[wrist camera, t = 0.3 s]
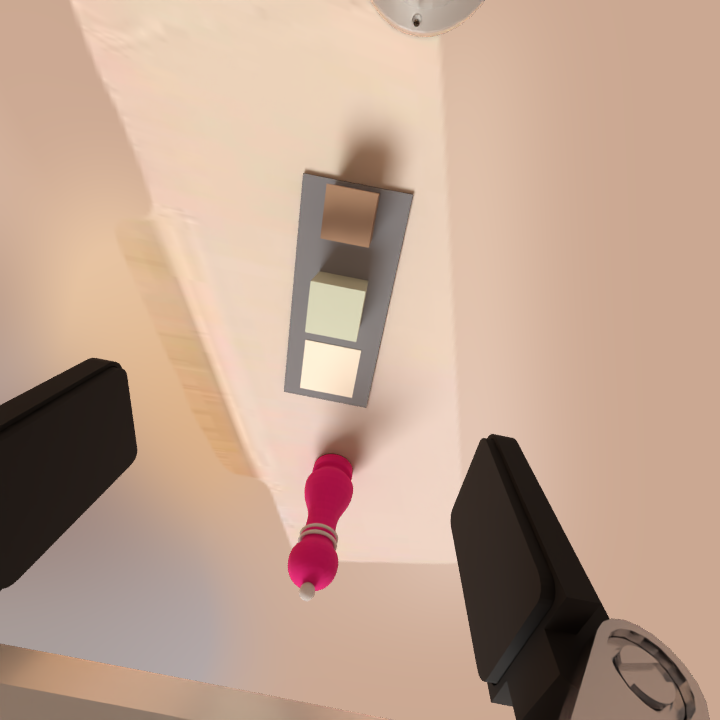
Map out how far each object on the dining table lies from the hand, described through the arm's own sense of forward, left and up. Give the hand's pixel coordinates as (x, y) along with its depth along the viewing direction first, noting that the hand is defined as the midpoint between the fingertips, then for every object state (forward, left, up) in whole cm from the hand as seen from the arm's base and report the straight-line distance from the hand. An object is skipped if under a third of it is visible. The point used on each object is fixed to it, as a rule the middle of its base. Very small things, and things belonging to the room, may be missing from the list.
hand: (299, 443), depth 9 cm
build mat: (+8, -3, -35) cm, 36 cm away
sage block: (+7, -3, -34) cm, 35 cm away
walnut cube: (-3, -3, -34) cm, 35 cm away
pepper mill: (+35, 0, -35) cm, 49 cm away
